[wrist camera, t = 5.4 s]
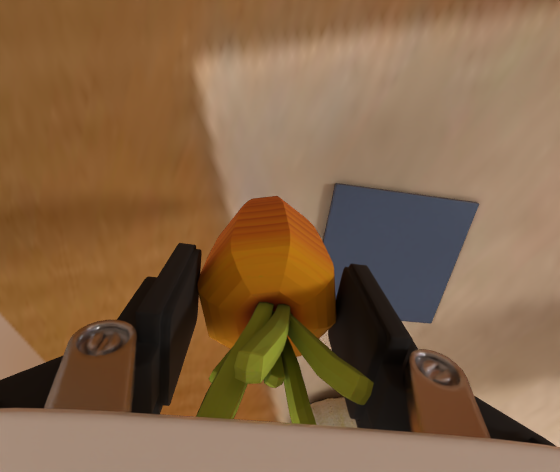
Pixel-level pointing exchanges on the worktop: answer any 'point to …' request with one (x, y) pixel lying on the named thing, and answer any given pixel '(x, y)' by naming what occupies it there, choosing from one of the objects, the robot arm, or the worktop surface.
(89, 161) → the worktop surface
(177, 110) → the worktop surface
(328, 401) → the sea urchin shell
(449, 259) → the napkin
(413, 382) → the robot arm
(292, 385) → the carrot
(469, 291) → the worktop surface
